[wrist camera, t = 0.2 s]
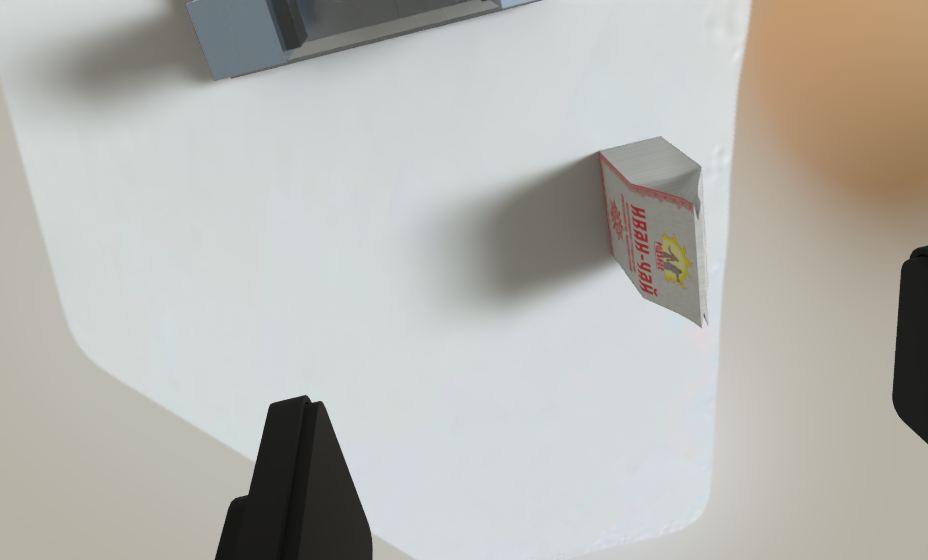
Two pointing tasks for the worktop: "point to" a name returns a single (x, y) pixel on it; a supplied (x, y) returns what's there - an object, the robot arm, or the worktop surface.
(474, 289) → the worktop surface
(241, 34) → the rail
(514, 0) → the block
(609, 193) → the white drink carton
